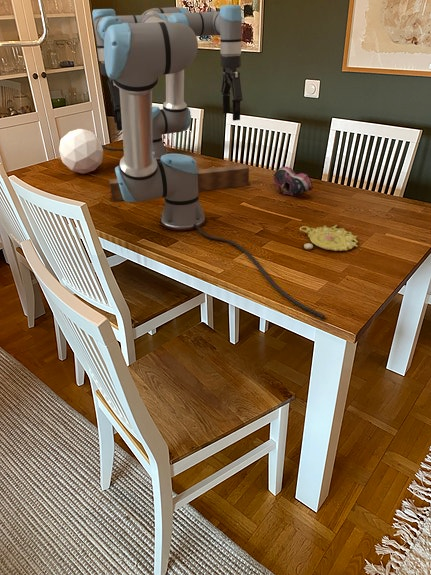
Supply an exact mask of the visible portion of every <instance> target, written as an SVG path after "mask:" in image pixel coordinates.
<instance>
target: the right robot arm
mask: <svg viewBox="0 0 431 575" xmlns="http://www.w3.org/2000/svg"><path fill="white" fill-rule="evenodd" d="M91 14H92V23H93V28H94V34H95V40H96V47H97V48H96V49H97V56H98V61H99V62H100V63H99V67H100V74H101V75H102V76H107V79H108V80H106V81H107V86H108V90H109V92H110V93H109V94H110V101H111V108H112V114H113V121H114V124H116V125H115V126H116V131H117V132H118V131H119V132H120V131H122V132H121V133H122V144H123V145H122V147H123V149H124V151H123V156H122V157H121V158H120V160H119V165H117V166H116V167H115V168H114V172H115V175H116V179H117V180H118V183H119V187H120V190H121V193H122V197H123V199H124V200H123V201H125V202H126V203H138V202H143V201H149V200H156V199H163V198H164V204H163V209H162V213H161V214H160V218H161V219H160V220H161V225H162V227H163V228H165V229H167V230H170V231H175V232H176V231H177V232H185V231H186V232H187V231H192V230H195V229H197V230H198V231H199V232H200V233H201V234H202V235H203V236H204V237H206V238H208V239H211V240H215V241H221V242H226V243H229V244H230V245H233V246H235V247H236V248H237V249H239V250H240V251H242V252H243V254H245V255H246V256H248V258H249V259H250V260H251V261H252V262H253V263H254V265H256V267H257V268H258V269H259V271H260V272H261V273H262V274H263V276H264V277H265V278H266V280H268V282H269V283H270V284H271V285H272V287H273V288H274V289H276V291H277V292H279V293H280V294H282V296H284V297H285V298H286V299H287V300H289V301H290V302H292V303H293V304H294V305H296V306H298V307H300V308H301V309H302V310H305V311H307V312H309V313H311V314H313V315H316V316H318V317H320V318H322V319H324V318H325V317H326V315H325V314H323V313H321V312H318V311H317V310H315V309H313V308H310V307H308V306H306V305H304V304H303V303H301V302H299V301H298V300H296V299H294V298H293V297H291V296H290V295H289V294H288V293H287V292H285V291H284V290H283V289H281V287H280V286H279V285H277V283H276V282H275V281H274V280H273V279H272V278H271V276H269V275H268V273H267V272H266V271H265V270H264V268H263V267H262V266H261V264H260V263H259V261H257V260H256V258H255V257H253V255H251V253H249V252H248V251H247V250H246V249H245V248H243V247H242V246H241V245H239V244H238V243H236V242H234V241H232V240H229V239H226V238H224V237H223V238H222V237H216V236H213V235H210V234H207V233H206V232H205V231H204V230H203V229H202V228H201V227H202V226H203V225H204V224H205V223H206V215H205V212H204V210H203V208H202V204H201V202H200V196H199V191H198V170H199V169H198V164H197V161H196V159H195V158H194V157H192V156H191V155H187V154H182V153H167V154H165V155H162V156H161V159H160V161H156V159H155V158H154V157H153V154H152V107H153V90H154V89H155V88H156V87H157V86H158V83H159V76H162V75H165V76H166V74H174V73H177V72H180V71H182V70H184V71H185V70H186V68H188V67H189V66H190V65H191V64H192V63H193V62H194V60H195V58H196V56H197V53H198V49H199V41H198V38H197V37H198V36H196V35H195V33H194V31H193V30H192V29H191V28H190V27H189V26H187V25H185V24H183V23H180V22H169V21H168V19H167V17H166V15H163V14H154V15H142V14H136V15H135V14H133V15H130V14H129V15H116V11H115V9H113V8H96V9H95V8H94V9H93V10H92V13H91Z"/></svg>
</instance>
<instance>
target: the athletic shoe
mask: <svg viewBox="0 0 431 575" xmlns="http://www.w3.org/2000/svg"><path fill="white" fill-rule="evenodd" d="M272 178H273V181H274V183H270V186H273V187H277V188H278V190H279V192H282V194H284V195H287V196H292V197H296V196H299V195H301V194H305V193H308V192H310V191H313V188H314V187H313V182H312V179H311V177H310V176H309V174H306V173H304V172H299V173H296V171H295V170H294V169H293V168H292V167H289V166H282V167H279V168H278V169H277V170H275V172H274V175H273V176H272Z"/></svg>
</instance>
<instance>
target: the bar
mask: <svg viewBox="0 0 431 575" xmlns="http://www.w3.org/2000/svg"><path fill="white" fill-rule="evenodd" d="M197 170H198V192H205V191H213V190H221V189H230V188H238V187H245V186H246V187H247V186H250V168H249V167H248V165H246V164H239V165H237V164H236V165H228V166H219V167H212V168H203V169H202V168H201V169H197ZM108 180H109V187H110V193H111V200H112V202H120V201H121V202H122V201H125V200H124V199H123V197H122V193H121V190H120V187H119V183H118V180H117V178H111V179H108Z"/></svg>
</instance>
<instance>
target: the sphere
mask: <svg viewBox="0 0 431 575" xmlns="http://www.w3.org/2000/svg"><path fill="white" fill-rule="evenodd" d="M101 144H102V140H101V139H100V138H98V137H97V135H95V134H94V133H93V131H92V130H87V129H83V128H77V129H73V130H70V131H68V132H67V133H66V134H65V135H64V136H63V137H61V139H60V142H59V147H58V153H59V156H60V159H61V162H62V164H64V165H65V166H66V167H67V168H68V169H69V170H70V171H72V172H74V173H78V174H82V175H84V174H87V173H91V172H94V171H95V170H97V168H98V167H99V166H100V165H102V163H103V157H104V149H103V148H104V147H103V146H102V145H103V144H102V145H101Z"/></svg>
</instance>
